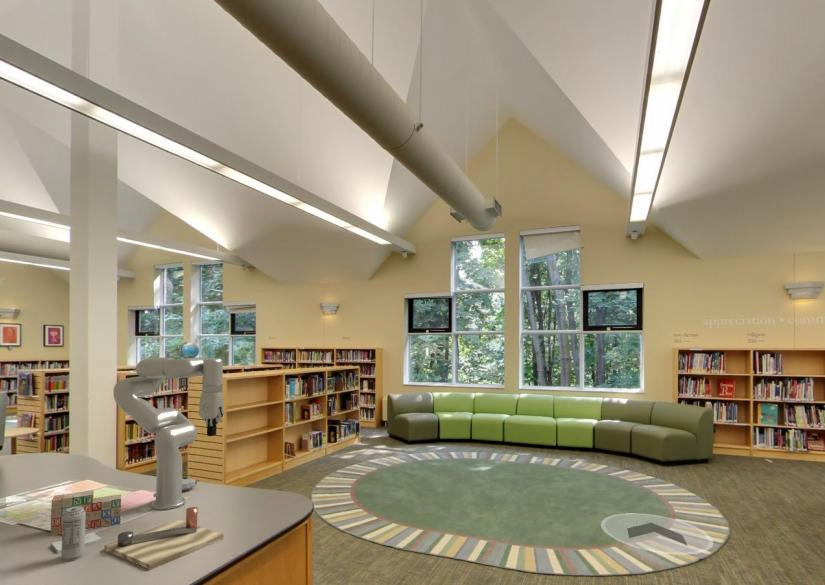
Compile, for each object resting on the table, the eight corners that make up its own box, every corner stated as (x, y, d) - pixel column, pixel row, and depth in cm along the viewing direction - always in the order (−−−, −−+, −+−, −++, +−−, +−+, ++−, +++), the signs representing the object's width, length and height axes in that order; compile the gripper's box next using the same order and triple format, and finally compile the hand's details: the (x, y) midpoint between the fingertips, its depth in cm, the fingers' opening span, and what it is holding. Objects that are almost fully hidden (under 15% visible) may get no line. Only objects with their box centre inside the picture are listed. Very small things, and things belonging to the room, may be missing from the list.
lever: (117, 547, 163) (118, 523, 163) (117, 542, 167) (118, 519, 167) (197, 532, 175) (198, 509, 175) (196, 527, 178) (196, 505, 179)
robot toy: (159, 490, 228) (172, 495, 218) (159, 480, 229) (172, 485, 218) (187, 484, 237) (200, 489, 227) (187, 474, 238) (200, 478, 227)
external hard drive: (50, 547, 168) (93, 536, 178) (57, 555, 163) (100, 542, 172) (50, 542, 168) (93, 531, 178) (57, 550, 163) (100, 537, 172)
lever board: (104, 550, 165) (104, 544, 165) (178, 523, 187) (178, 518, 187) (149, 570, 151) (149, 564, 151) (223, 538, 173) (223, 533, 173)
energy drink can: (88, 553, 163) (89, 505, 164) (76, 561, 157) (78, 512, 158) (69, 553, 163) (70, 505, 164) (56, 562, 157) (58, 512, 158)
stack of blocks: (120, 518, 193) (121, 485, 193) (120, 524, 187) (121, 490, 188) (52, 530, 182) (53, 495, 183) (49, 536, 177) (51, 500, 178)
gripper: (192, 389, 205) (191, 435, 203) (216, 391, 197) (215, 439, 195) (208, 387, 211) (208, 431, 210) (232, 389, 203) (231, 435, 202)
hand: (211, 435), depth 203 cm, fingers closed
